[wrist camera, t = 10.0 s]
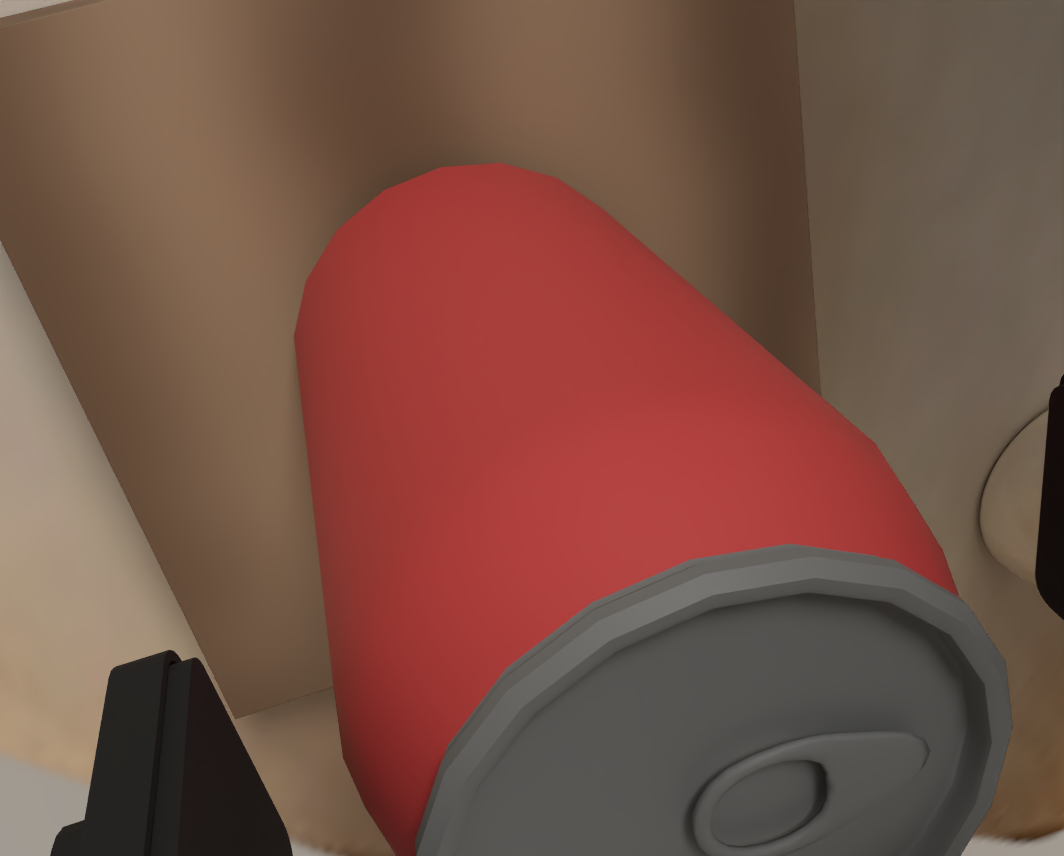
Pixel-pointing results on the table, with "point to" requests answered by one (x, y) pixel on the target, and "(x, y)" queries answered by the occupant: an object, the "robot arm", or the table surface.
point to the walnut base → (329, 202)
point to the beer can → (615, 557)
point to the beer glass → (1016, 501)
